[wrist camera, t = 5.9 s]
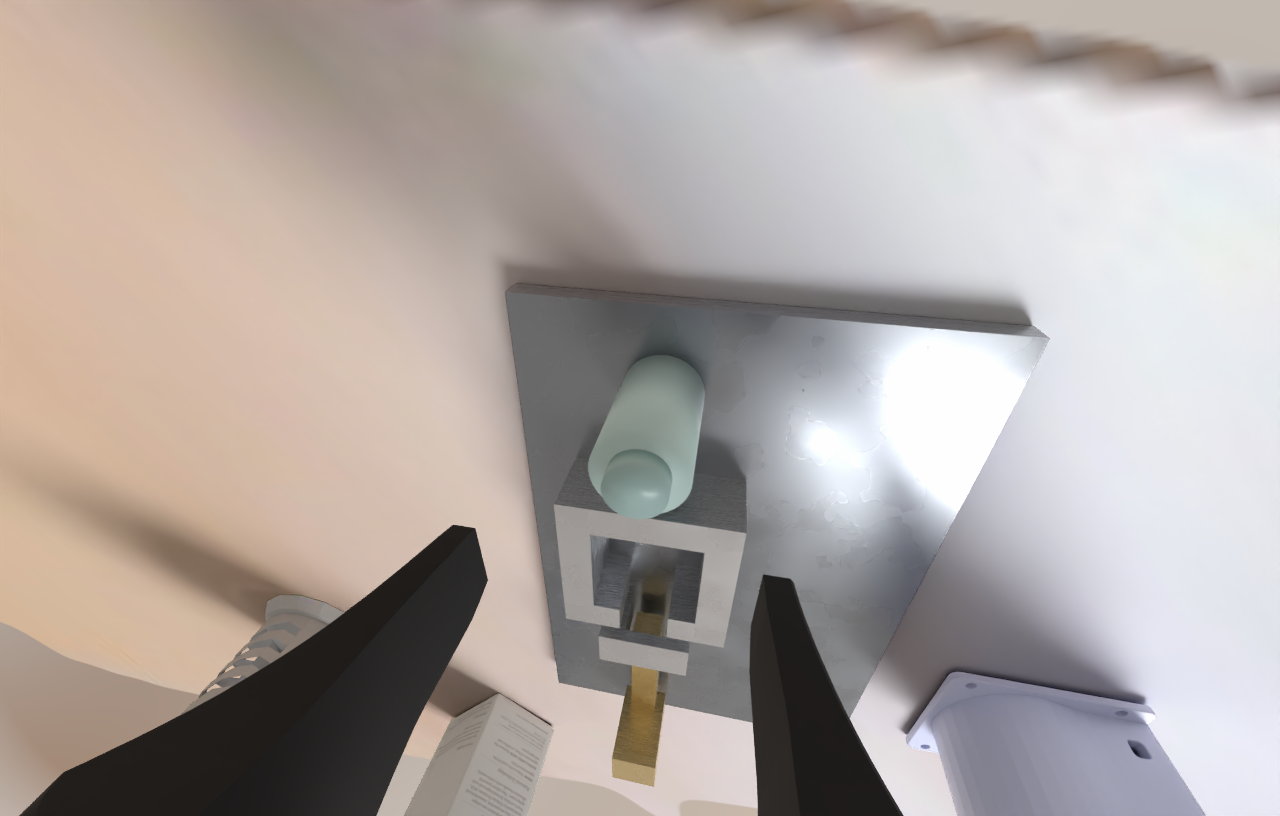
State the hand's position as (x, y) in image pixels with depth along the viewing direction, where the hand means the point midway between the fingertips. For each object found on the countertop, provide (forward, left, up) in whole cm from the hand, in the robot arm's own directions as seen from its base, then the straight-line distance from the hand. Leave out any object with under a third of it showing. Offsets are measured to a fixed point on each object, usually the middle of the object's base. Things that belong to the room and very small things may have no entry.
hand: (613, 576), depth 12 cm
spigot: (0, 0, -8) cm, 8 cm away
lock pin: (0, +18, -8) cm, 19 cm away
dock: (-3, +10, -9) cm, 14 cm away
